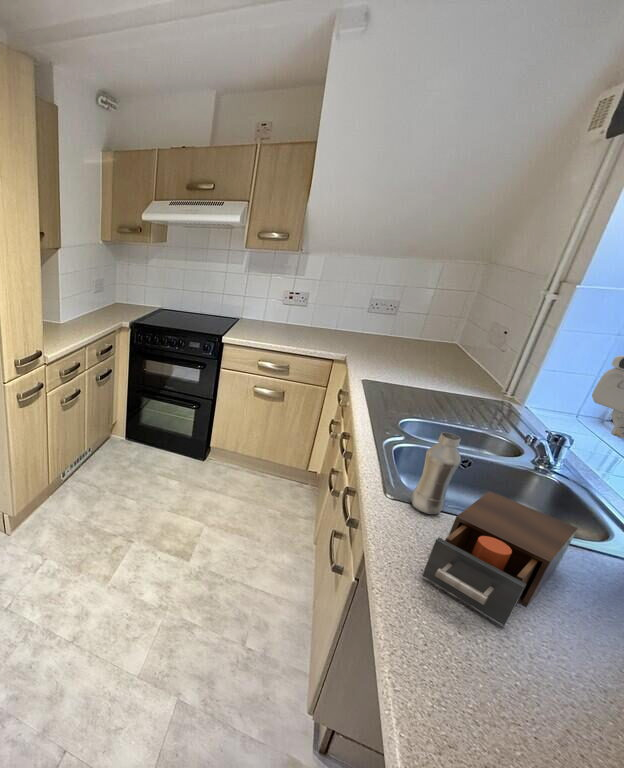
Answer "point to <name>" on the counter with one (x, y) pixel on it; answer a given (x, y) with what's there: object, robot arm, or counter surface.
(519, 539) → the cabinet
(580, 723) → the counter surface
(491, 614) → the drawer
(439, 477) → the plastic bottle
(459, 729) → the counter surface
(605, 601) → the counter surface
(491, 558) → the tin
